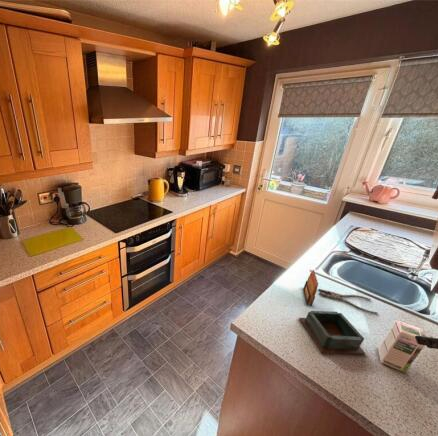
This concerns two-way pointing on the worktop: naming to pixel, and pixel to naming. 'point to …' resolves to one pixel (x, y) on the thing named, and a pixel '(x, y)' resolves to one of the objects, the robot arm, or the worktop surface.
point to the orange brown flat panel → (310, 288)
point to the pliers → (338, 297)
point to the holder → (332, 333)
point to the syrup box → (400, 346)
